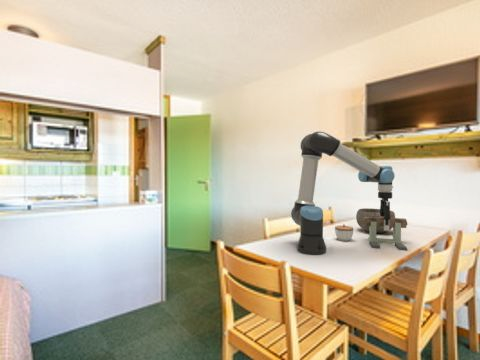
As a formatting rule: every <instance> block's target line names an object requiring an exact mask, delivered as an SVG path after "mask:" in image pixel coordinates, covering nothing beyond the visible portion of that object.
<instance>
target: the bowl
mask: <svg viewBox="0 0 480 360" xmlns="http://www.w3.org/2000/svg"><path fill="white" fill-rule="evenodd" d="M364 217H380V218H381V216H380V208H370V207H369V208H358V210H357V212H356V216H355V218H356V223H357V225H358V226H359V227H360V228H361V229H363V230H365V231H368V232H369V226H365V225H364V223H363V220H364ZM390 218H396V214H395V212H394V210H390ZM391 230H393V227H389V231H391ZM387 232H388V231H384V227H376V234H377V233H378V234H380V233H387Z"/></svg>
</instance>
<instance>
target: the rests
mask: <svg viewBox="0 0 480 360" xmlns="http://www.w3.org/2000/svg"><path fill="white" fill-rule="evenodd" d="M368 242H369V243H368V245H369V246H370V247H371V249H381V245H380V244H379V242H375V241H369V240H368ZM394 246H395V248H396V249H397V250H398V251H408V247H407V246H406V245H405V244H404V243H403V242H402V243H394Z"/></svg>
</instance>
